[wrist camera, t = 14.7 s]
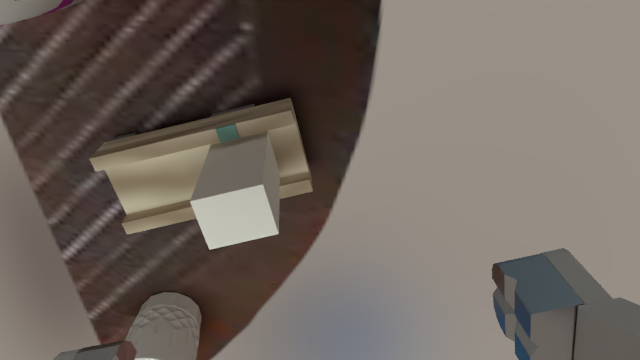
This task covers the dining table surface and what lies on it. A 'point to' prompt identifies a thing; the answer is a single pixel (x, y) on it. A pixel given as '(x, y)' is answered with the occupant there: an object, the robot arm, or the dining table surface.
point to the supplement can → (30, 8)
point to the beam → (194, 161)
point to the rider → (238, 191)
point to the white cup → (166, 328)
